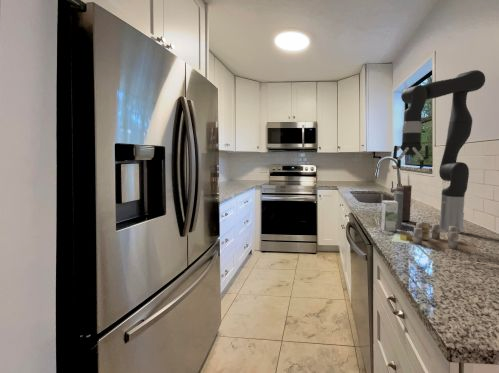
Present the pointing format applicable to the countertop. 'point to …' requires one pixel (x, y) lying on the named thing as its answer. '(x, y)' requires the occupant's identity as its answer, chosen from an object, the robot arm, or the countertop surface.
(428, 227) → the light wood t-shaped block
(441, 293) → the countertop surface
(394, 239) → the green pad
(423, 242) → the board
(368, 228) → the countertop surface
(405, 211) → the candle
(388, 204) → the syrup box
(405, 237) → the gold star hexagon
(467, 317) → the countertop surface
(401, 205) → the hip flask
